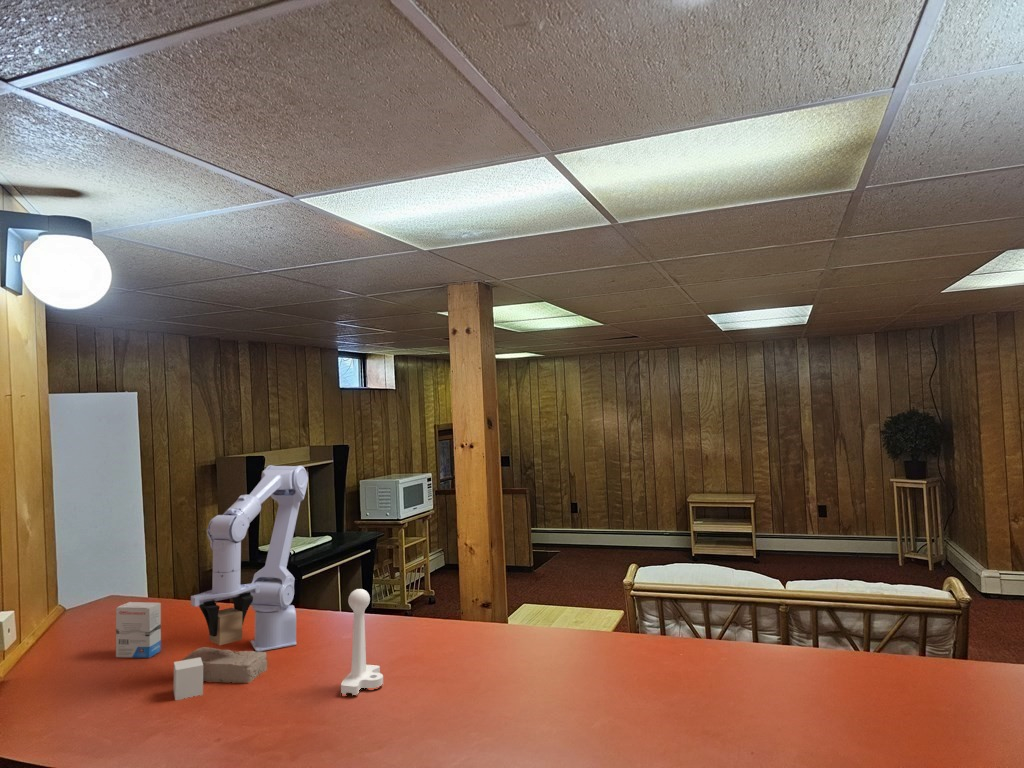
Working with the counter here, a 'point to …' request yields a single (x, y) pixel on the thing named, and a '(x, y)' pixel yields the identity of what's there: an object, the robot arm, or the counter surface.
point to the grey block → (188, 678)
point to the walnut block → (228, 626)
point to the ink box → (138, 630)
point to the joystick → (360, 650)
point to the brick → (230, 664)
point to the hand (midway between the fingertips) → (225, 632)
